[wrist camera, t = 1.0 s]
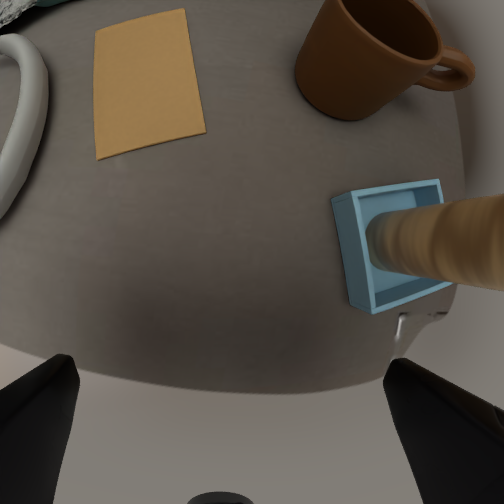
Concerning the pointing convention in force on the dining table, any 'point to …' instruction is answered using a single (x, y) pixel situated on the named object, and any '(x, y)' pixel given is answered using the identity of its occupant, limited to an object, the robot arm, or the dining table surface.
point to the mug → (374, 56)
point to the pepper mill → (443, 242)
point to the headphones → (23, 117)
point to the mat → (144, 84)
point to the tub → (356, 251)
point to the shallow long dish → (48, 2)
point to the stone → (13, 9)
